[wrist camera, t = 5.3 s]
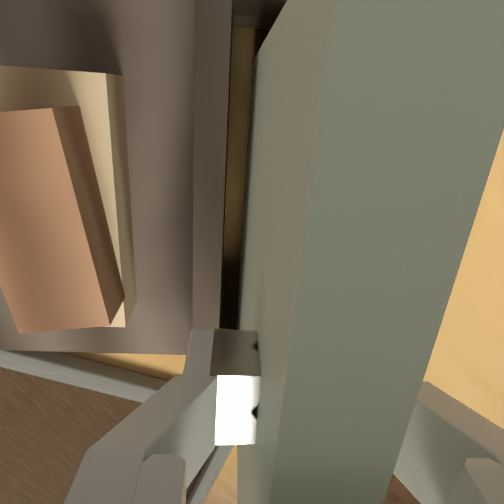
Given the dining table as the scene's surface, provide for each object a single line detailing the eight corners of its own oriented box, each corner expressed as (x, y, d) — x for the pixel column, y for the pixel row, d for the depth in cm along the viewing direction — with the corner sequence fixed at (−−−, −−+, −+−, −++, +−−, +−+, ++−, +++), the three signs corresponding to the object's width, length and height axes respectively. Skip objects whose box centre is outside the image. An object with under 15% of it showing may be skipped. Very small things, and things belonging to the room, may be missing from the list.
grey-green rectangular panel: (286, 64, 17) (575, -92, 3) (262, 318, 23) (311, 726, 8) (252, 61, 17) (351, -115, 3) (236, 317, 23) (238, 729, 8)
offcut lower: (122, 75, 17) (105, 73, 15) (136, 302, 22) (125, 327, 19) (8, 67, 17) (-27, 63, 14) (48, 299, 21) (26, 324, 19)
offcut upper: (79, 105, 15) (51, 107, 13) (125, 297, 19) (110, 325, 16) (-20, 113, 15) (-66, 116, 13) (45, 303, 19) (19, 333, 16)
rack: (328, 4, 17) (372, -37, 12) (285, 345, 25) (300, 417, 19) (-72, -33, 16) (-231, -97, 11) (12, 338, 24) (-55, 412, 18)
